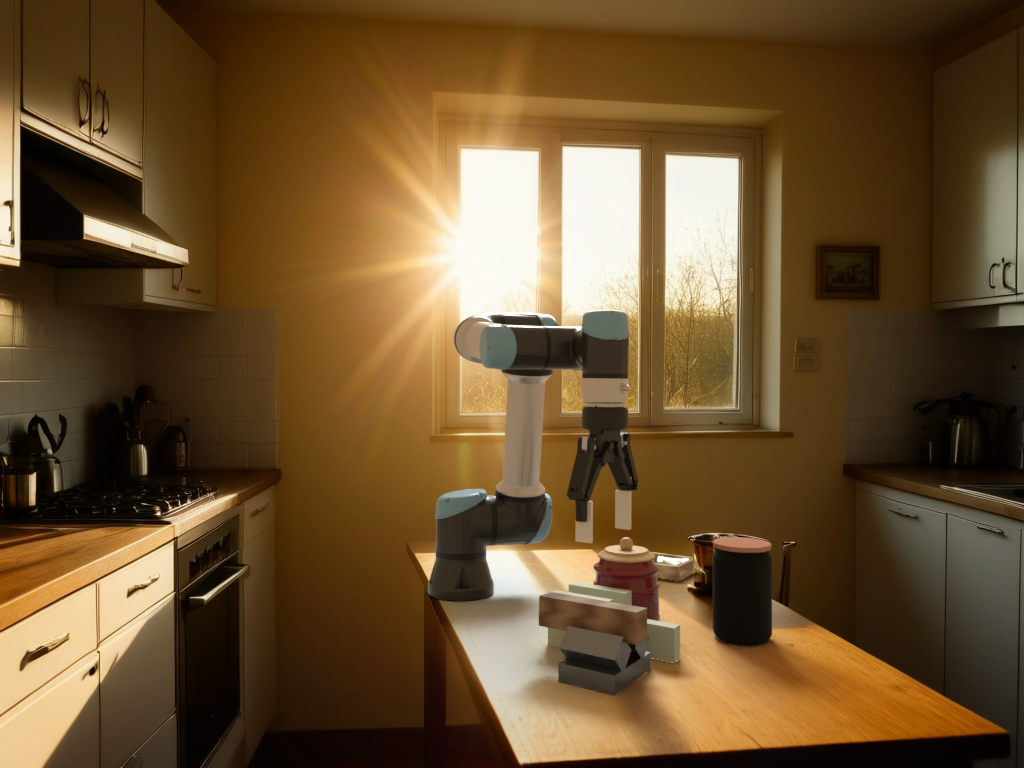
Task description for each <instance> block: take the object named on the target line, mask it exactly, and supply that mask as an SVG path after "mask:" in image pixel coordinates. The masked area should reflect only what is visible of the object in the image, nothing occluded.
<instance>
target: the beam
mask: <svg viewBox="0 0 1024 768" xmlns="http://www.w3.org/2000/svg"><path fill="white" fill-rule="evenodd" d="M550 592H554V593H560V594H566V595H572V596H579V597H585V598H591V599H597V600H603V601H609V602H615V603H621V604H627V605H632V591H630V590H624V589H618V588H611V587H605V586H599V585H593V584H591V583H586V582H585V583H584V582H579V581H574V582H570V583H569V584H568V591H565V590H558V589H553V590H551V591H549V592H547V593H550ZM565 632H566V631H563V630H558V629H553V628H547V645H548V646H552V647H557V648H559V646H560V644H561V642H562V639H563V637H564V634H565ZM647 634H648V636H649V638H650V640H649V643H648V646H647V649H646V651H647V652H650V658H654V659H659V660H663V661H662V662H664V661H668V662H673V663H675V662H676V661H677V660H679V659H680V660H681V625H680V624H677V623H672V622H666V621H661V620H660V621H656V620H651V619H647ZM654 659H653V660H654ZM659 660H658V661H659ZM680 660H679V661H680ZM668 662H667V663H668ZM677 662H678V661H677ZM677 662H676V663H677ZM673 663H672V664H673ZM676 663H675V664H676Z"/></svg>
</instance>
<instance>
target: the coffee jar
mask: <svg viewBox="0 0 1024 768" xmlns="http://www.w3.org/2000/svg"><path fill="white" fill-rule="evenodd" d="M712 545H713V547H714V549H715V551H714V552H713V553H712V631H713V634H714V635H715V636H716V639H718V640H719V641H720V640H721V642H723V643H725V642H726V643H725V644H729V643H730V644H729V645H732V644H733V645H735V646H739V647H740V646H741V647H758V646H764V645H765V644H767V643H768V642H769V641H770V639H771V638H772V635H773V570H772V569H773V563H772V562H773V559H772V556H771V554H770V551H771V550H772V543H771V542H769V541H767V540H763V539H760V538H754V537H742V536H741V537H738V536H735V537H734V536H729V537H728V536H727V537H726V536H725V537H719V538H715V539H713V540H712Z"/></svg>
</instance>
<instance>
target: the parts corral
mask: <svg viewBox="0 0 1024 768" xmlns="http://www.w3.org/2000/svg"><path fill="white" fill-rule="evenodd" d="M650 552H651V553H653V554H654V555H655V559H654V560H653V561H654V563H655V564H656V565H658V566H659V568H660V570H659V572H658V573H657V578H663V579H662V580H664V579H672V580H680V579H682V578H684V577H686V576H687V575H689V574H691V573H693V556H686V555H677V554H672V553H671V554H669V553H663V552H655V551H654V552H653V551H650ZM658 556H664V557H666V558H678V559H683V558H689V559H690V560H688V561H685V562H683V563H681V564H679V565H677V566H673V565H666V564H658V563H657V558H658ZM686 578H687V577H686ZM684 579H685V578H684ZM682 580H683V579H682ZM680 581H681V580H680Z"/></svg>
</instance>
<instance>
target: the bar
mask: <svg viewBox="0 0 1024 768" xmlns="http://www.w3.org/2000/svg"><path fill="white" fill-rule="evenodd" d="M549 592H550V593H548V592H547V593H544V594H541V595H539V597H538V598H539V600H538V626H539V627H544V628H547V629H548V628H553V629H558V630H563V631H566V629H567V627H568V626H571V627H576V628H581V629H586V630H591V631H596V632H601V633H606V634H611V635H616V636H621V637H624V639H625V640H626V642H627V643H629V644H634V645H637V644H639V643H641V642H643V641H645V640H647V608H645V607H639V606H633V605H627V604H621V603H615V602H609V601H603V600H597V599H591V598H585V597H579V596H572V595H566V594H560V593H554V592H551V591H549Z"/></svg>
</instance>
